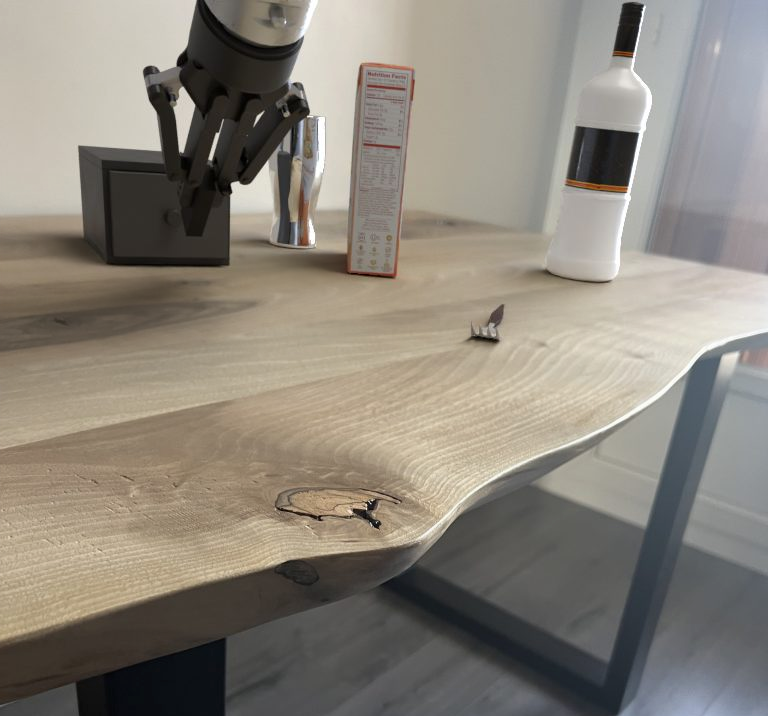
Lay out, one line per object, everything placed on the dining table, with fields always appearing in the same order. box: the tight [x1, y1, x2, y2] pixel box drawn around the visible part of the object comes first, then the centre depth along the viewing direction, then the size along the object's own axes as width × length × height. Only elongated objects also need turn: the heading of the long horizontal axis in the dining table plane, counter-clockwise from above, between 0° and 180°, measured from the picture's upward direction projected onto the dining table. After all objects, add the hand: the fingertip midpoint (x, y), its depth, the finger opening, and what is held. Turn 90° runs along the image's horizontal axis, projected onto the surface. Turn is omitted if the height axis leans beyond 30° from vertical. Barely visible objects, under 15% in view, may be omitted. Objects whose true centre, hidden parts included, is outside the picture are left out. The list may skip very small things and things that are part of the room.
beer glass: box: [267, 114, 327, 250], centre depth 101 cm, size 7×7×15 cm
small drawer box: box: [77, 144, 231, 266], centre depth 89 cm, size 15×13×10 cm
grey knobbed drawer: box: [109, 170, 228, 258], centre depth 87 cm, size 15×12×8 cm
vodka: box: [544, 1, 652, 283], centre depth 98 cm, size 9×9×30 cm
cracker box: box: [346, 61, 416, 278], centre depth 92 cm, size 14×6×21 cm, turn 2°
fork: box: [470, 303, 506, 340], centre depth 74 cm, size 3×16×2 cm, turn 166°
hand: (191, 223), depth 76 cm, fingers closed
